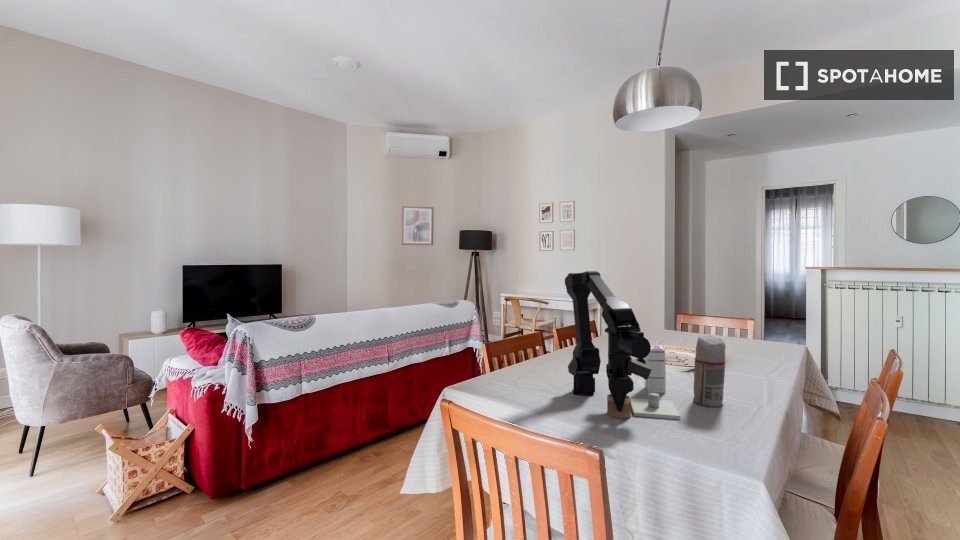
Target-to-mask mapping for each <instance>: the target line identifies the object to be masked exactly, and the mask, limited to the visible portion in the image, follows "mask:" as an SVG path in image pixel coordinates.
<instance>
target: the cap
mask: <svg viewBox="0 0 960 540" xmlns="http://www.w3.org/2000/svg"><path fill="white" fill-rule="evenodd" d="M631 398H632V397H631V396H630V395H629V394H627V395H626V398H625V402H624V406H623V410H622V411H618V410H617V407H616V405H615V402H614V400H613V397H612V395H611V393H609V394H607V395H606V400H607V404H606V405H607V407H606V410H607V411H606V413H607V416H609V418H610V417H611V418H613V419H620V420H627V419H630V418H631V417H632V407H631Z"/></svg>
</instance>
